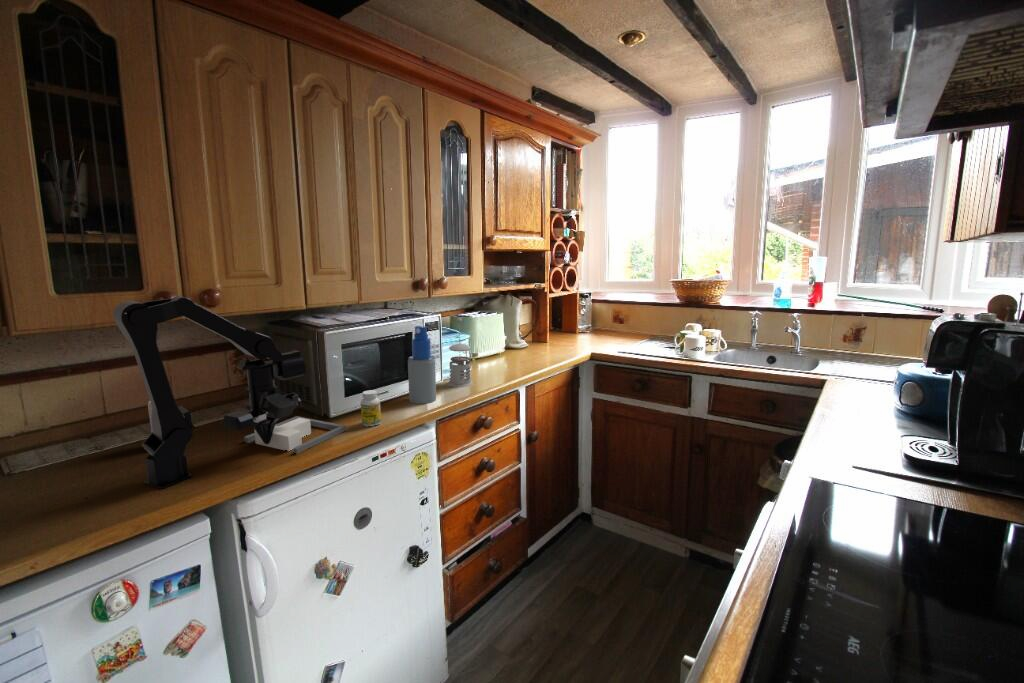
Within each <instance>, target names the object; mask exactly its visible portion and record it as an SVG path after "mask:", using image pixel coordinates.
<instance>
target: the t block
mask: <svg viewBox="0 0 1024 683" xmlns="http://www.w3.org/2000/svg"><path fill="white" fill-rule="evenodd" d="M303 418H304V417H303ZM303 418H297V419H295V420H292V421H290V422H287V423H285V424H283V425H280V426H275V427H274V430H273V433H272V437H271V440H270V443H269V444H265V443H264V442H263V441H262V439H261V438H260V436H259V435H258V433H257V432H256V430H255V429H254V428H253V429H254V431H253V432H254V433H255V440H254V442H255V445H261V446H265V447H269V448H273V449H278V450H282V451H285V450H287V451H286V452H289V451H290V450H292V449H293V448H295V447H297V446H299V445H301V444H303V442H302V440H303V439H302V437H303V438H305V437H307V436H309V435H311V434H312V426H311V424H310V420H308V419H303ZM306 435H307V436H306ZM304 436H305V437H304ZM292 451H293V450H292ZM290 452H291V451H290Z"/></svg>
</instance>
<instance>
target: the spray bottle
mask: <svg viewBox="0 0 1024 683" xmlns="http://www.w3.org/2000/svg"><path fill="white" fill-rule="evenodd" d="M427 330H428V328H427V326H426V325H425V326H421V325H417V326H414V334H413V338H412V339H411V346H412V347H411V349H412V350H411V352H412V353H411V354H412V356H408V358H407V371H408V372H407V374H408V376H407V377H408V378H407V379H408V399H409V400H408V401H409V402H410V403H413V404H416V405H424V404H425V405H426V404H430V402H431V403H434V402H436V401H437V384H436V383H437V381H436V377H437V374H436V359H435V356H434V355H432V353H431V352H432V351H431V350H432V349H431V338H429V334H428V331H427ZM433 401H434V402H433Z"/></svg>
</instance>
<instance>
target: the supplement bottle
mask: <svg viewBox="0 0 1024 683" xmlns="http://www.w3.org/2000/svg"><path fill="white" fill-rule="evenodd" d="M362 397H363V398H362V399H361V400H360V408H361V409H360V411H361V424H362V426H364V427H368V426H372V427H375V426H374V425H377V426H379V425H380V424H381V423H382V415H381V400H380V398H379V397H378V392H377V390H376V389H375V390H373V389H372V390H371V389H370V390H364V391H362ZM378 424H379V425H378Z"/></svg>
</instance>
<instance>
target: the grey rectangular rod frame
mask: <svg viewBox="0 0 1024 683" xmlns="http://www.w3.org/2000/svg"><path fill="white" fill-rule="evenodd" d="M297 418H303V419H308V420H310V424H311V427H316V428H320V429H325V430H329V431H327V432H325V433H322V434H320V435H318V436H317V437H314V438H312V439H310V440H308V441H305V442H302V444H301V445H299V446H297V447H295V448H293V450H292V451H293V454H294V453H299V452H301V451H303V450H305V449H307V448H309V447H312V446H314V445H316V446H318V445H320V444H322V443H324V442H326V441H328V440H330V439H332V438H334V437H333V436H335V435H337V434H339V435H340V433H341V434H342V432H343V433H345V432H346V431H347V426H346V425H344V424H339V423H334V422H328V421H323V420H318V419H313V418H307V417H303V416H297V415H295V416H294V417H292V418H289V419H285V420H284V421H281V422H279V423H276V424H275V426H280V425H283V424H285V423H287V422H290V421H292V420H295V419H297ZM344 431H345V432H344ZM337 436H338V435H337ZM331 437H332V438H331ZM335 437H336V436H335ZM243 438H244V443H246V444H249V443H252V442H255V433H250V434H248V435H245V436H244V437H243ZM329 438H330V439H329ZM327 439H328V440H327ZM325 440H326V441H325ZM323 441H324V442H323ZM321 442H322V443H321ZM319 443H320V444H319ZM317 444H318V445H317ZM314 447H315V446H314ZM312 448H313V447H312Z"/></svg>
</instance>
